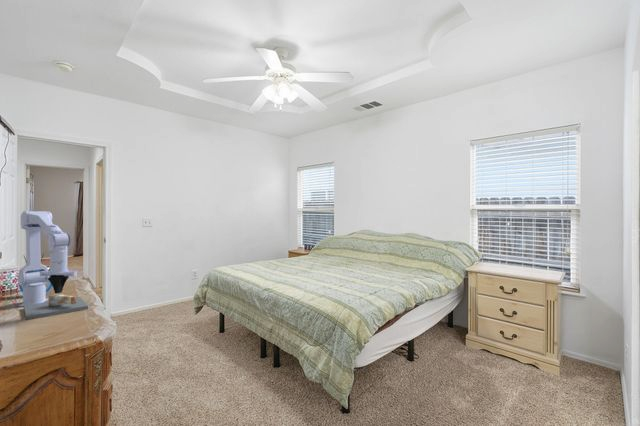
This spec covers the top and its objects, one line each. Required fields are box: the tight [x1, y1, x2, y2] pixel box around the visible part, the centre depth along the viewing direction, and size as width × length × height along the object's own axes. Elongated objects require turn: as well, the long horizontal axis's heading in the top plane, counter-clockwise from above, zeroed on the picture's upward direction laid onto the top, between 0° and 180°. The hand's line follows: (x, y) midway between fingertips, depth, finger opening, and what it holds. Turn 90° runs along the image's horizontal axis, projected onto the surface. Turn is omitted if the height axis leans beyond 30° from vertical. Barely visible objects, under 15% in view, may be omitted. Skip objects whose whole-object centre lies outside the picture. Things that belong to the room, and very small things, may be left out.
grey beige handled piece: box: [48, 293, 77, 307], centre depth 135 cm, size 13×5×4 cm, turn 78°
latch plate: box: [23, 296, 89, 321], centre depth 136 cm, size 20×20×2 cm
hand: (58, 292), depth 130 cm, fingers closed
